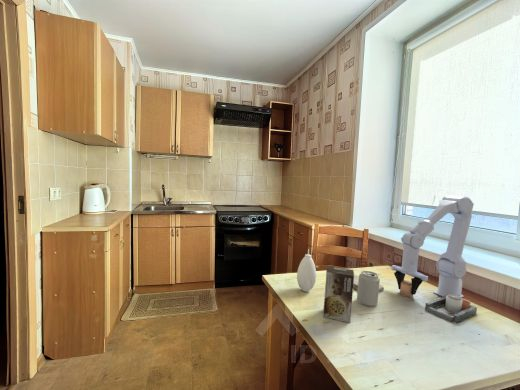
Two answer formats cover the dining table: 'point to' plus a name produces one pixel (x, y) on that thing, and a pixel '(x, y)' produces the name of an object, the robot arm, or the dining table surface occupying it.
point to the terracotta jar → (406, 288)
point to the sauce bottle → (306, 273)
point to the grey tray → (455, 318)
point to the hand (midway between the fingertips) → (406, 291)
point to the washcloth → (356, 280)
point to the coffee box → (338, 293)
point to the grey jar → (453, 303)
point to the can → (368, 288)
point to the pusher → (464, 303)
